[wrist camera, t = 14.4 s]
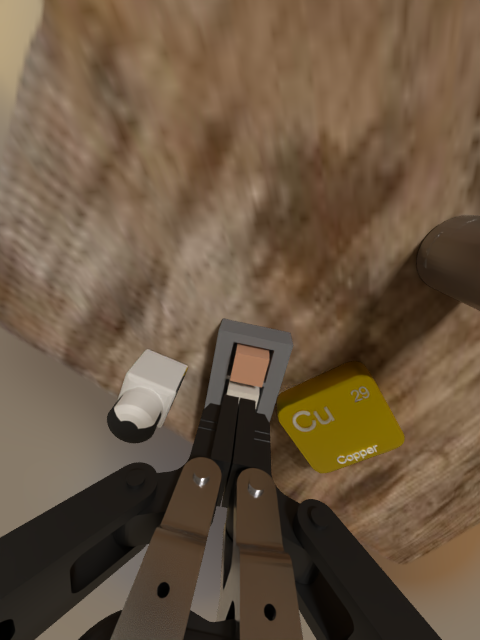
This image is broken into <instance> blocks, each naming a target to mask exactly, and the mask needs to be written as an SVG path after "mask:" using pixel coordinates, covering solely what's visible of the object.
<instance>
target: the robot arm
mask: <svg viewBox="0 0 480 640" xmlns="http://www.w3.org/2000/svg"><path fill="white" fill-rule="evenodd" d="M417 270H418V273H419V276H420V277H421V279H422V280H423V281H424V282H425V283H426V284H427V285H428V286H430V287H432V288H434V289H436V290H438V291H440V292H442V293H444V294H446V295H448V296H450V297H452V298H454V299H456V300H458V301H460V302H462V303H464V304H466V305H469V306H471V307H473V308H475V309H477V310H479V311H480V216H459V217H454V218H452V219H449V220H447V221H445V222H443V223H441V224H440V225H438V226H437V227H436V228H434V229H433V230H432V231H431V232H430V233H429V234H428V235H427V237H426V238H425V239H424V241H423V243H422V244H421V246H420V249H419V252H418V255H417ZM238 402H239V404H238ZM255 408H256V401H255V400H250V399H245V398H240V400H239V397H235V396H231V395H226V394H224V396H223V401H222V405H217V404H213V403H210V404H209V405H208V406H207V407H206V408H205V409H204V410H203V413H202V417H201V420H200V423H199V427H198V430H197V434H196V437H195V441H194V444H193V447H192V451H191V455H190V457H189V459H188V461H187V462H186V464H185V465H183V466H182V467H181V468H179V469H178V470H174V471H171V472H163V473H156V471H155V469H154V468H153V467H152V466H150V465H148V464H146V463H132V464H129V465H127V466H125V467H123V468H121V469H119V470H118V471H116V472H115V473H113V474H111V475H109V476H107V477H105V478H104V479H102V480H100V481H98V482H97V483H95V484H93V485H91V486H90V487H88V488H86V489H85V490H83V491H81V492H79V493H77V494H76V495H74V496H72V497H70V498H69V499H67V500H65V501H64V502H62V503H60V504H58V505H57V506H55V507H53V508H51V509H50V510H48V511H46V512H44V513H43V514H41V515H39V516H37V517H36V518H34V519H32V520H30V521H29V522H27V523H25V524H24V525H22V526H20V527H18V528H16V529H15V530H13V531H11V532H9V533H8V534H6V535H4V536H2V537H1V538H0V640H35V639H36V638H37V637H38V636H39V635H40V634H42V633H43V632H44V631H45V630H46V629H48V628H49V627H50V626H51V625H52V624H54V623H55V622H56V621H57V620H58V619H60V618H61V617H62V616H63V615H64V614H66V613H67V612H68V611H69V610H70V609H71V608H73V607H74V606H75V605H76V604H77V603H79V602H80V601H81V600H82V599H84V598H85V597H86V596H87V595H88V594H90V593H91V592H92V591H93V590H94V589H95V588H97V587H98V586H99V585H100V584H101V583H103V582H104V581H105V580H106V579H107V578H109V577H110V576H111V575H112V574H113V573H115V572H116V571H117V570H118V569H119V568H121V567H122V566H123V565H124V564H125V563H127V562H128V561H129V560H130V559H131V558H133V557H134V556H135V555H136V554H137V553H139V552H140V551H141V550H142V549H143V548H144V547H145V546H146V544H149V546H148V549H147V551H146V553H145V556H144V558H143V561H142V563H141V566H140V568H139V571H138V573H137V576H136V578H135V580H134V583H133V585H132V588H131V590H130V593H129V595H128V598H127V600H126V602H125V605H124V607H123V610H120V611H118V612H116V613H114V614H111V615H109V616H108V617H106V618H104V619H103V620H101V621H100V622H98V623H97V624H96V625H94V626H93V627H92V628H90V629H89V630H88V631H87V632H86V633H85V634H84V635H82V636H81V637H80V639H78V640H303V635H302V629H301V622H300V614H299V610H300V612H301V614H302V615H303V617H304V619H305V620H306V622H307V624H308V626H309V627H310V629H311V631H312V632H313V634H314V636H315V637H316V639H317V640H442V639H441V638H440V637H439V636H438V635H437V633H436V632H435V631H434V630H433V629H432V628H431V626H430V625H429V624H428V623H427V622H426V621H425V619H424V618H423V617H422V616H421V615H420V613H419V612H418V611H417V610H416V609H415V607H414V606H413V605H412V604H411V603H410V602H409V601H408V599H407V598H406V597H405V596H404V595H403V594H402V592H401V591H400V590H399V589H398V588H397V586H396V585H395V584H394V583H393V582H392V580H391V579H390V578H389V577H388V576H387V575H386V573H385V572H384V571H383V570H382V569H381V568H380V567H379V565H378V564H377V563H376V562H375V560H374V559H373V558H372V557H371V556H370V555H369V553H368V552H367V551H366V550H365V549H364V548H363V546H362V545H361V544H360V543H359V542H358V541H357V539H356V538H355V537H354V536H353V535H352V533H351V532H350V531H349V530H348V529H347V528H346V526H345V525H344V524H343V523H342V522H341V521H340V519H339V518H338V517H337V516H336V515H335V513H334V512H333V511H332V510H331V509H330V508H329V507H328V506H327V505H325V504H324V503H322V502H320V501H318V500H314V499H308V500H305V501H303V502H302V503H301V504H300V503H298V502H296V501H294V500H293V499H291V498H289V497H287V496H286V495H284V494H283V493H282V492H281V491H280V490H279V489H278V488H277V487H276V485H275V483H274V481H273V479H272V475H271V450H270V423H269V421H268V419H267V418H266V416H265V414H260V413H256V412H255ZM223 492H224V493H223ZM222 496H223V501H222V507H226V508H228V509H227V518H226V523H225V526H224V531H223V549H222V567H221V586H220V587H221V589H220V599H219V606H218V612H217V621H216V622H209V621H207V620H205V619H203V618H202V617H201V616H199V615H197V614H196V613H194V612H192V611H191V610H190V608H191V604H192V600H193V596H194V592H195V587H196V583H197V579H198V575H199V571H200V566H201V562H202V558H203V554H204V550H205V545H206V541H207V537H208V532H209V528H210V526H211V524H212V522H213V517H214V514H215V510H216V506H220V503H221V500H222Z"/></svg>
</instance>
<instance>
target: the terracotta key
mask: <svg viewBox="0 0 480 640" xmlns="http://www.w3.org/2000/svg"><path fill="white" fill-rule="evenodd" d="M269 360H270V359H269V349H265V348H260V347H256V346H251V345H246V344H241V343H238V344H237V348H236V353H235V357H234V362H233V367H232V372H231V377H230V381H234V382H238V383H243V384H248V385H253V386H257V387H262V385H263V382H264V378H265V374H266V371H267V367H268V363H269Z"/></svg>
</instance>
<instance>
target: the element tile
mask: <svg viewBox="0 0 480 640" xmlns="http://www.w3.org/2000/svg"><path fill="white" fill-rule="evenodd" d="M277 415H278V420H279V422H280V424H281V425H282V427H283V428H284V429H285V431H286V432H287V433H288V435H289V436H290V438H291V439H292V440H293V442H294V443H295V445H296V446H297V447H298V449H299V450H300V452H301V453H302V454H303V456H304V457H305V459H306V460H307V461H308V463H309V464H310V465H311V467H312V468H313V469H314V470H315V471H317V472H319V473H329V472H332V471H335V470H338V469H341V468H344V467H346V466H349V465H352V464H355V463H358V462H360V461H363V460H366V459H369V458H372V457H374V456H377V455H380V454H383V453H386V452H388V451H391V450H394V449H396V448H398V447H400V446H401V445H402V444H403V443H404V440H405V437H404V433H403V431H402V430H401V428H400V426H399V424H398V422H397V421H396V419H395V417H394V415H393V413H392V411H391V410H390V408H389V406H388V404H387V402H386V400H385V399H384V397H383V395H382V393H381V391H380V389H379V388H378V386H377V384H376V382H375V380H374V379H373V377H372V376H371V374H370V372H369V371H368V369H367V368H366V366H365V365H364V364H362V363H361V362H358V361H350V362H347V363H345V364H342V365H340V366H338V367H336V368H334V369H332V370H329V371H327V372H325V373H323V374H321V375H319V376H316V377H314V378H312V379H310V380H308V381H306V382H303V383H301V384H299V385H297V386H295V387H293V388H290V389H288V390H286V391H284V392H282V393H281V394H280V395H279V396H278V397H277Z"/></svg>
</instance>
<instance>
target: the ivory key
mask: <svg viewBox="0 0 480 640" xmlns="http://www.w3.org/2000/svg"><path fill="white" fill-rule="evenodd" d="M226 395H231V396H235V397H239V400H240V398H245V399H250V400H255V401H256V406H257V402H258V399H259V387H257V386H253V385H248V384H243V383H238V382H234V381H230V380H229V385H228V389H227V394H226ZM238 404H239V402H238ZM255 410H256V408H255Z"/></svg>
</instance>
